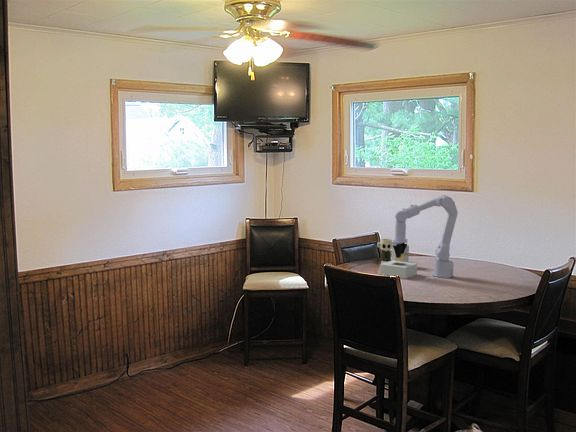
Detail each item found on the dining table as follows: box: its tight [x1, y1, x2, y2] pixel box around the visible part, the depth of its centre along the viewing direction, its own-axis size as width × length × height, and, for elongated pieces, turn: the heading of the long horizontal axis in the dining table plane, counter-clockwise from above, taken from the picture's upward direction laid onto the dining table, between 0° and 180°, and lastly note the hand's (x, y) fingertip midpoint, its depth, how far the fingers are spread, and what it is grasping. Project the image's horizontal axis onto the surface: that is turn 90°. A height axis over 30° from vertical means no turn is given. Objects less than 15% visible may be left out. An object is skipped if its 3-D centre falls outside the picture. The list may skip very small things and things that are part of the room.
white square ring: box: [379, 260, 418, 280], centre depth 343 cm, size 15×15×6 cm
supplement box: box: [390, 244, 410, 262], centre depth 366 cm, size 7×7×13 cm
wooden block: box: [395, 253, 405, 262], centre depth 342 cm, size 4×3×4 cm
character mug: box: [376, 238, 393, 261], centre depth 384 cm, size 11×7×13 cm, turn 87°
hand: (399, 257), depth 342 cm, fingers closed on wooden block, 3 cm apart
